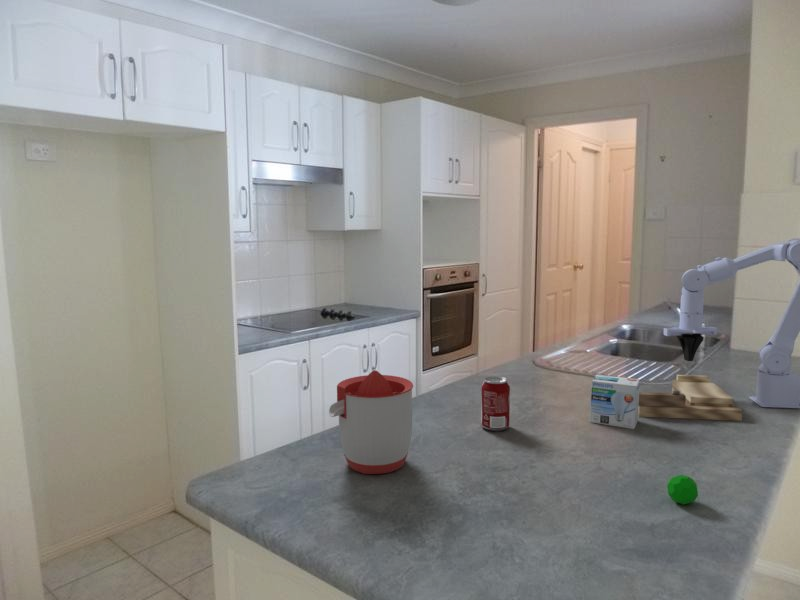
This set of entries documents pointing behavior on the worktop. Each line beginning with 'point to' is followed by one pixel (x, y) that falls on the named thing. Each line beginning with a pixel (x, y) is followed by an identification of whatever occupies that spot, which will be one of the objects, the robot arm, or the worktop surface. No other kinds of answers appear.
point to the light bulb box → (614, 401)
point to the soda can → (495, 403)
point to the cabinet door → (662, 399)
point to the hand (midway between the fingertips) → (688, 360)
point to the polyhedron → (682, 489)
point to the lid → (701, 390)
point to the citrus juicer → (374, 421)
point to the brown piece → (693, 411)
